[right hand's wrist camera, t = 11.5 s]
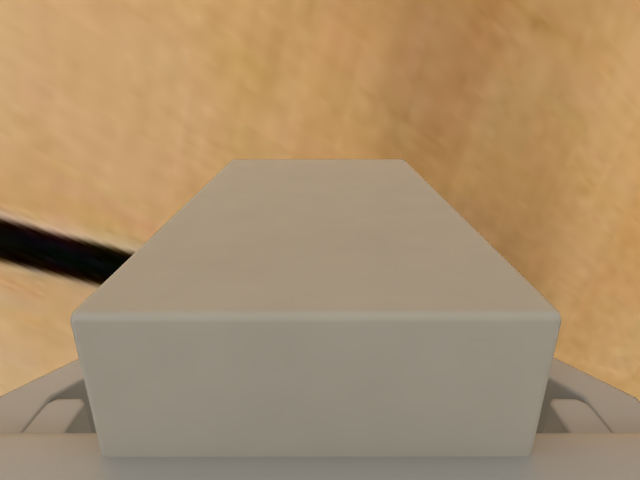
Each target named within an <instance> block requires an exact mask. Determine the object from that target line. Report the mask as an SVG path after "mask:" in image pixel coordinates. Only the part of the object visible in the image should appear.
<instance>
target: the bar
mask: <svg viewBox="0 0 640 480" xmlns="http://www.w3.org/2000/svg"><path fill="white" fill-rule="evenodd" d="M560 324H561V317H560V313H559V311H558V310H557V309H556V308H555V307H554V306H552V305H551V304H550V303H549V302H548V301H547V300H546V299H545V298H544V297H543V296H542V295H541V294H540V293H539V292H538V291H537V290H536V289H535V288H534V287H533V286H532V285H531V284H530V283H529V282H528V281H527V280H526V279H525V278H524V277H523V276H522V275H521V274H520V273H519V272H518V271H517V270H516V269H515V268H514V267H513V266H512V265H511V264H510V263H509V262H508V261H507V260H506V259H505V258H504V257H503V256H502V255H501V254H500V253H499V252H498V251H497V250H495V249H494V248H493V247H492V246H491V245H490V244H489V243H488V242H487V241H486V240H485V239H484V238H483V237H482V236H481V235H480V234H479V233H478V232H477V231H476V230H475V229H474V228H473V227H472V226H471V225H470V224H469V223H468V222H467V221H466V220H465V219H464V218H463V217H462V216H461V215H460V214H459V213H458V212H457V211H456V210H455V209H454V208H453V207H452V206H451V205H450V204H449V203H448V202H447V201H446V200H445V199H444V198H443V197H442V196H441V195H440V194H438V193H437V192H436V191H435V190H434V189H433V188H432V187H431V186H430V185H429V184H428V183H427V182H426V181H425V180H424V179H423V178H422V177H421V176H420V175H419V174H418V173H417V172H416V171H415V170H414V169H413V168H412V167H411V166H410V165H409V164H408V163H407V162H406V161H405V160H403V159H234V160H231V161H230V162H229V163H228V164H227V165H226V166H225V167H224V168H223V169H222V170H221V171H220V172H219V173H218V174H217V175H216V176H215V177H214V178H213V179H212V180H211V181H210V182H209V183H207V184H206V185H205V186H204V187H203V188H202V189H201V190H200V191H199V192H198V193H197V194H196V195H195V196H194V197H193V198H192V199H191V200H190V201H189V202H188V203H187V204H186V205H185V206H183V207H182V208H181V209H180V210H179V211H178V212H177V213H176V214H175V215H174V216H173V217H172V218H171V219H170V220H169V221H168V222H167V223H166V224H165V225H164V226H163V227H162V228H160V229H159V230H158V231H157V232H156V233H155V234H154V235H153V236H152V237H151V238H150V239H149V240H148V241H147V242H146V243H145V244H144V245H143V246H142V247H141V248H140V249H139V250H138V251H136V252H135V253H134V254H133V255H132V256H131V257H130V258H129V259H128V260H127V261H126V262H125V263H124V264H123V265H122V266H121V267H120V268H119V269H118V270H117V271H116V272H115V273H114V274H112V275H111V276H110V277H109V278H108V279H107V280H106V281H105V282H104V283H103V284H102V285H101V286H100V287H99V288H98V289H97V290H96V291H95V292H94V293H93V294H92V295H91V296H90V297H88V298H87V299H86V300H85V301H84V302H83V303H82V304H81V305H80V306H79V307H78V308H77V309H76V310H75V311H74V312H73V313H72V316H71V326H72V330H73V335H74V339H75V343H76V347H77V352H78V356H79V360H80V364H81V369H82V373H83V377H84V381H85V386H86V390H87V394H88V398H89V403H90V407H91V411H92V416H93V420H94V424H95V428H96V433H97V437H98V441H99V445H100V450H101V454H102V456H105V457H526V456H529V455H531V453H532V448H533V444H534V440H535V435H536V431H537V426H538V422H539V417H540V413H541V408H542V404H543V400H544V395H545V391H546V386H547V382H548V377H549V373H550V368H551V364H552V360H553V355H554V351H555V346H556V342H557V337H558V333H559V328H560Z"/></svg>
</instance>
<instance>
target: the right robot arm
mask: <svg viewBox="0 0 640 480" xmlns="http://www.w3.org/2000/svg"><path fill="white" fill-rule="evenodd" d="M0 480H640V401H639V400H638V399H637V398H635V397H633V396H631V395H629V394H627V393H625V392H623V391H621V390H619V389H617V388H615V387H613V386H611V385H609V384H607V383H605V382H603V381H601V380H599V379H596V378H594V377H592V376H590V375H588V374H586V373H584V372H582V371H580V370H578V369H576V368H574V367H572V366H570V365H568V364H566V363H564V362H562V361H560V360H558V359H556V358H554V357H553V360H552V364H551V368H550V373H549V377H548V382H547V386H546V391H545V395H544V400H543V404H542V408H541V413H540V417H539V422H538V426H537V431H536V435H535V440H534V444H533V448H532V453H531V455H529V456H526V457H105V456H102V454H101V450H100V445H99V441H98V437H97V433H96V428H95V424H94V420H93V416H92V411H91V407H90V403H89V398H88V394H87V390H86V386H85V381H84V377H83V373H82V369H81V364H80V360H79V359H77V360H75V361H73V362H71V363H69V364H67V365H65V366H63V367H61V368H59V369H57V370H55V371H53V372H51V373H48V374H46V375H44V376H42V377H40V378H38V379H36V380H34V381H32V382H30V383H28V384H26V385H24V386H22V387H19V388H17V389H15V390H13V391H11V392H9V393H7V394H5V395H3V396H1V397H0Z"/></svg>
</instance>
